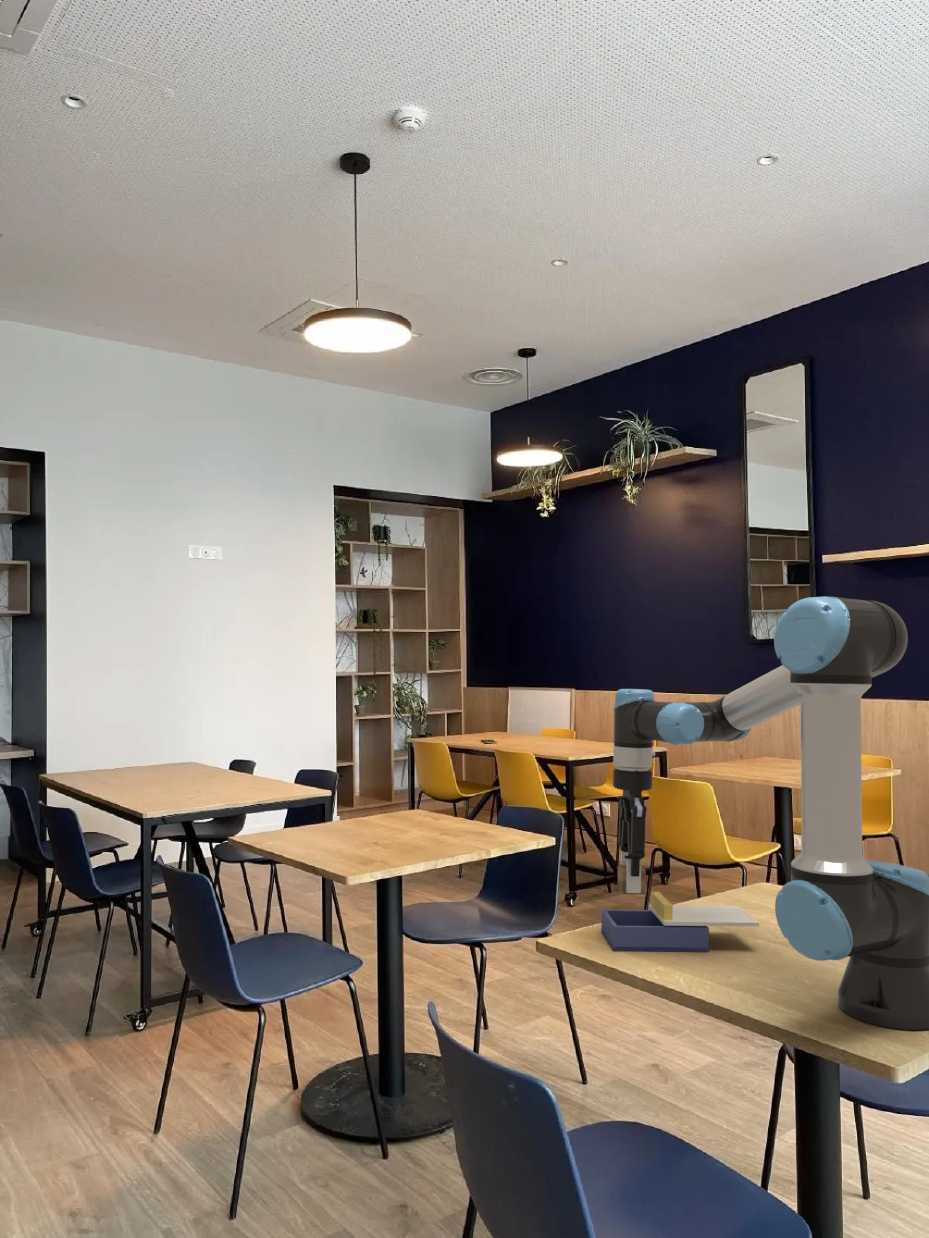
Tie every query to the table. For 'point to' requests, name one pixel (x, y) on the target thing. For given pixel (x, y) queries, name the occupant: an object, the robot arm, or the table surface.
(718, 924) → the lid
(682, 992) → the table surface
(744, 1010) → the table surface
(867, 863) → the robot arm
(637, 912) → the blue tray
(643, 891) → the block
